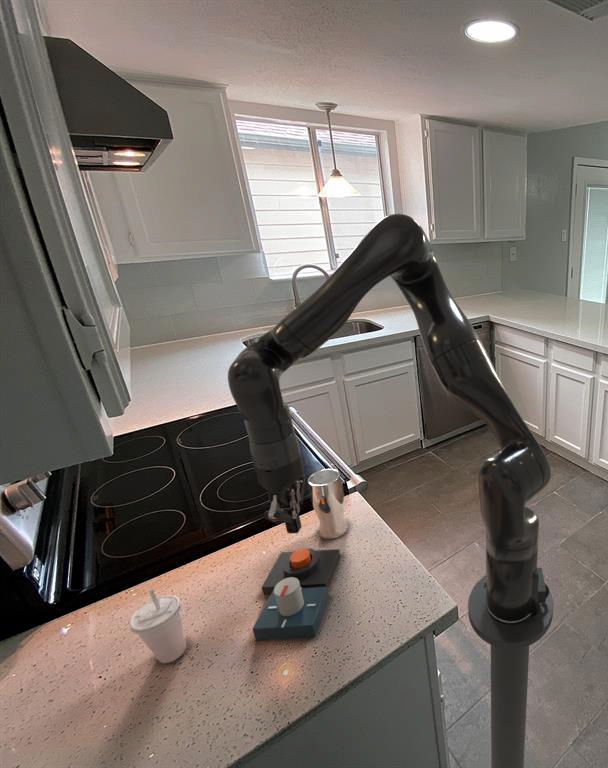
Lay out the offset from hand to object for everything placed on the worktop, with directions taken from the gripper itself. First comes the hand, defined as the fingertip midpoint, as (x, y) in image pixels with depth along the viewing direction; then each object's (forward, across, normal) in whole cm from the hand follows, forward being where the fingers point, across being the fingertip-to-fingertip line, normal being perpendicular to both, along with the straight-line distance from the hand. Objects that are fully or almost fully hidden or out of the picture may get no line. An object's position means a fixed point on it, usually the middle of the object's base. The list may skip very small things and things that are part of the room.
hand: (294, 530), depth 80 cm
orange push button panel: (+11, 0, 0) cm, 11 cm away
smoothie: (+12, +16, -16) cm, 25 cm away
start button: (+8, 0, 0) cm, 8 cm away
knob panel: (+11, +10, +2) cm, 16 cm away
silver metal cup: (+12, -13, +2) cm, 17 cm away
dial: (+8, +10, +2) cm, 13 cm away
